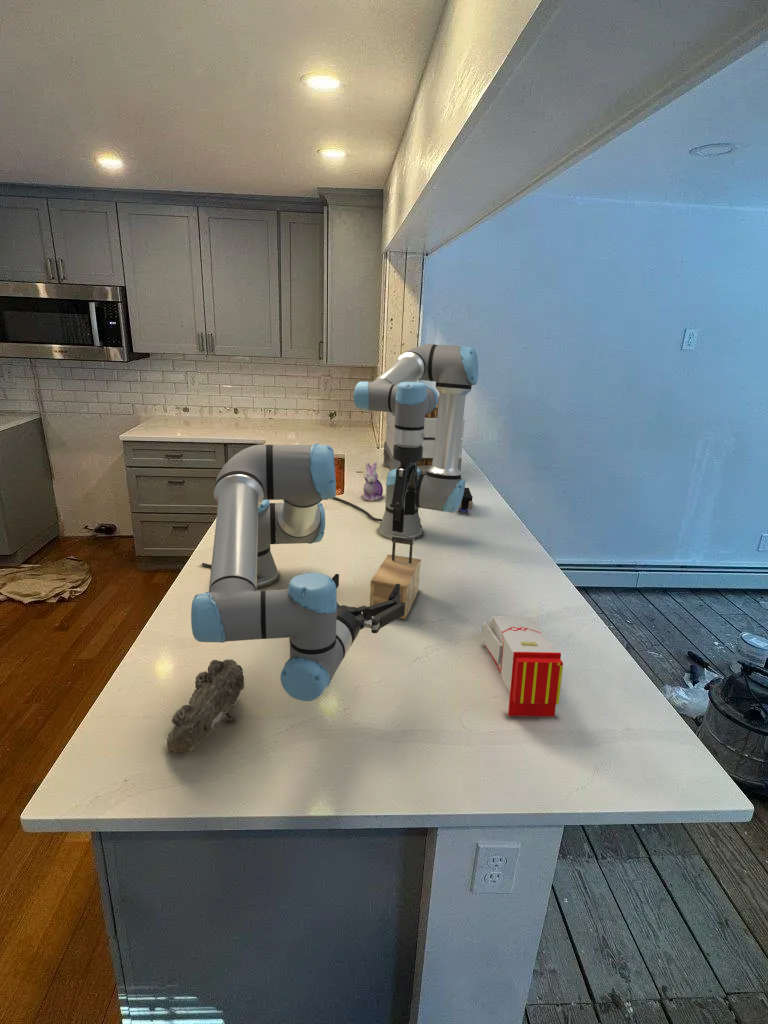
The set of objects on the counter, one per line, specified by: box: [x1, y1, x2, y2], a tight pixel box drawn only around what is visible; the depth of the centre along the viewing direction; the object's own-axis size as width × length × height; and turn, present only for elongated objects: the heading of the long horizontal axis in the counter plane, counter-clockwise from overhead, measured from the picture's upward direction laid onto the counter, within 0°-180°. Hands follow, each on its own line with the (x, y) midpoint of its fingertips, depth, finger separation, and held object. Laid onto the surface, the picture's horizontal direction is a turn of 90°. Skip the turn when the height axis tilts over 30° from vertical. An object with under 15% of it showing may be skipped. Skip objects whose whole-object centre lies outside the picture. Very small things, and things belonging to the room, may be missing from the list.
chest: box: [369, 564, 421, 620], centre depth 152 cm, size 16×10×9 cm, turn 165°
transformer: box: [383, 396, 465, 473], centre depth 268 cm, size 34×33×41 cm
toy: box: [481, 615, 564, 718], centre depth 123 cm, size 12×13×30 cm
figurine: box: [362, 461, 384, 502], centre depth 233 cm, size 9×10×15 cm
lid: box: [370, 534, 422, 589], centre depth 150 cm, size 17×10×8 cm, turn 165°
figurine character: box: [456, 487, 474, 514], centre depth 226 cm, size 7×8×15 cm
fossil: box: [166, 658, 245, 754], centre depth 106 cm, size 22×10×15 cm
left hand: (367, 584), depth 122 cm, fingers open, 13 cm apart
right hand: (403, 522), depth 152 cm, fingers open, 13 cm apart
